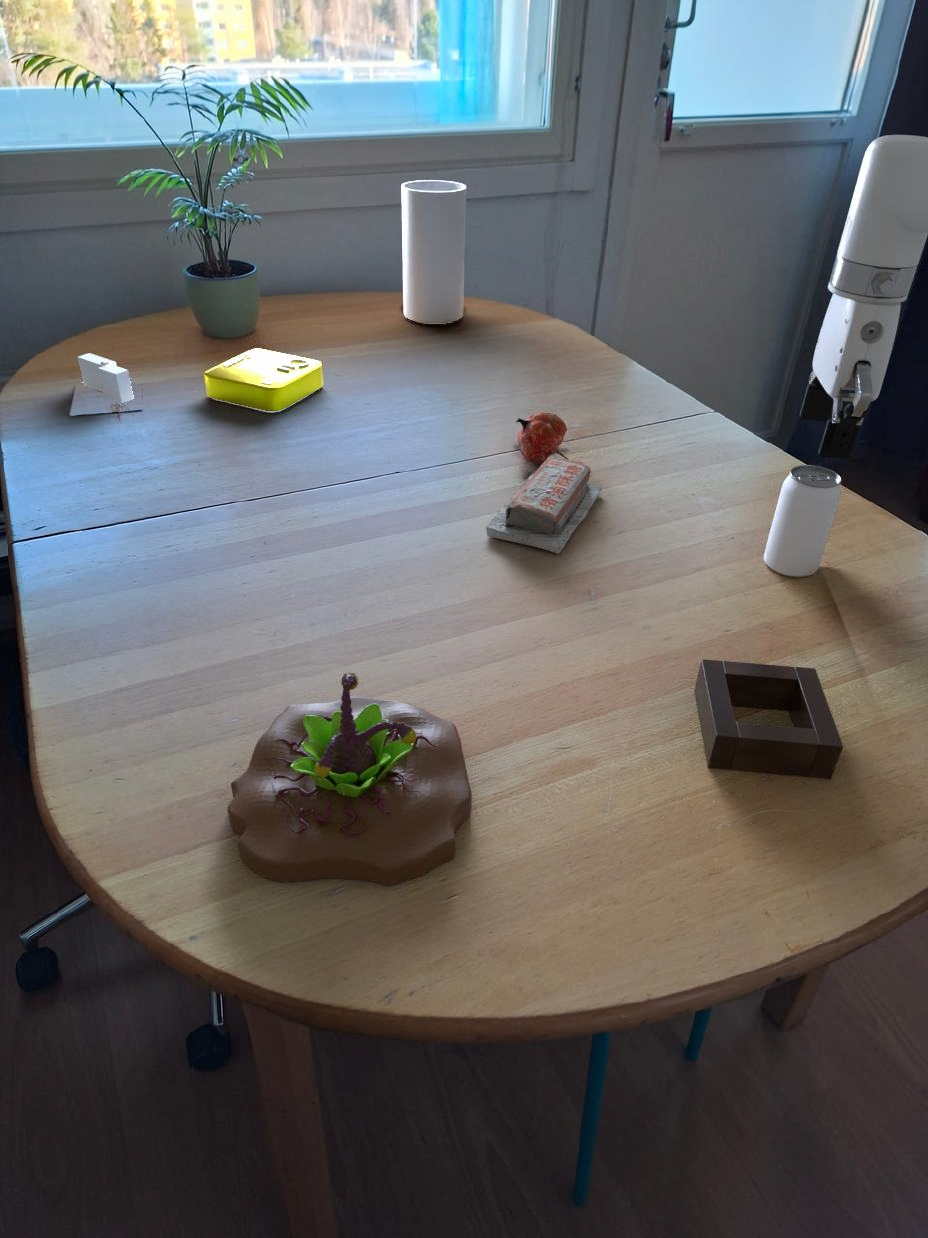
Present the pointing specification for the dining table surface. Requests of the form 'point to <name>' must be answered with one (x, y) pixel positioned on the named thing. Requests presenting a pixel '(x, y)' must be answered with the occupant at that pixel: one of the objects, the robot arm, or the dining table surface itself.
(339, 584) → the dining table surface
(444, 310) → the cylinder vase
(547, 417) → the pomegranate
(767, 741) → the socket block
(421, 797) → the plant
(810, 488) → the can
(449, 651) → the dining table surface
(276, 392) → the element tile
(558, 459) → the packaged product
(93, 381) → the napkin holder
